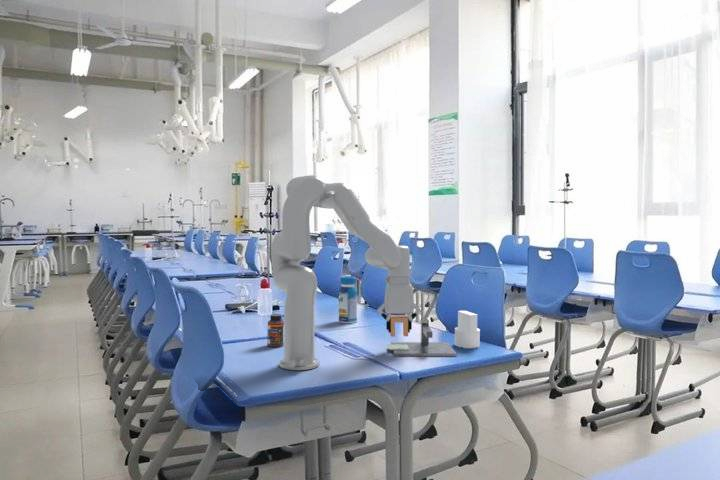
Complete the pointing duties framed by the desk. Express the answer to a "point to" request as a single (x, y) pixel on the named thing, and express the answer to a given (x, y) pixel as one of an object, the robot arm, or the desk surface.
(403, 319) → the orange staple
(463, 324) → the cylinder with rectangular tab
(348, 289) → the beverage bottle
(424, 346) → the stand
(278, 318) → the supplement bottle
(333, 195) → the robot arm
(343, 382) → the desk surface
